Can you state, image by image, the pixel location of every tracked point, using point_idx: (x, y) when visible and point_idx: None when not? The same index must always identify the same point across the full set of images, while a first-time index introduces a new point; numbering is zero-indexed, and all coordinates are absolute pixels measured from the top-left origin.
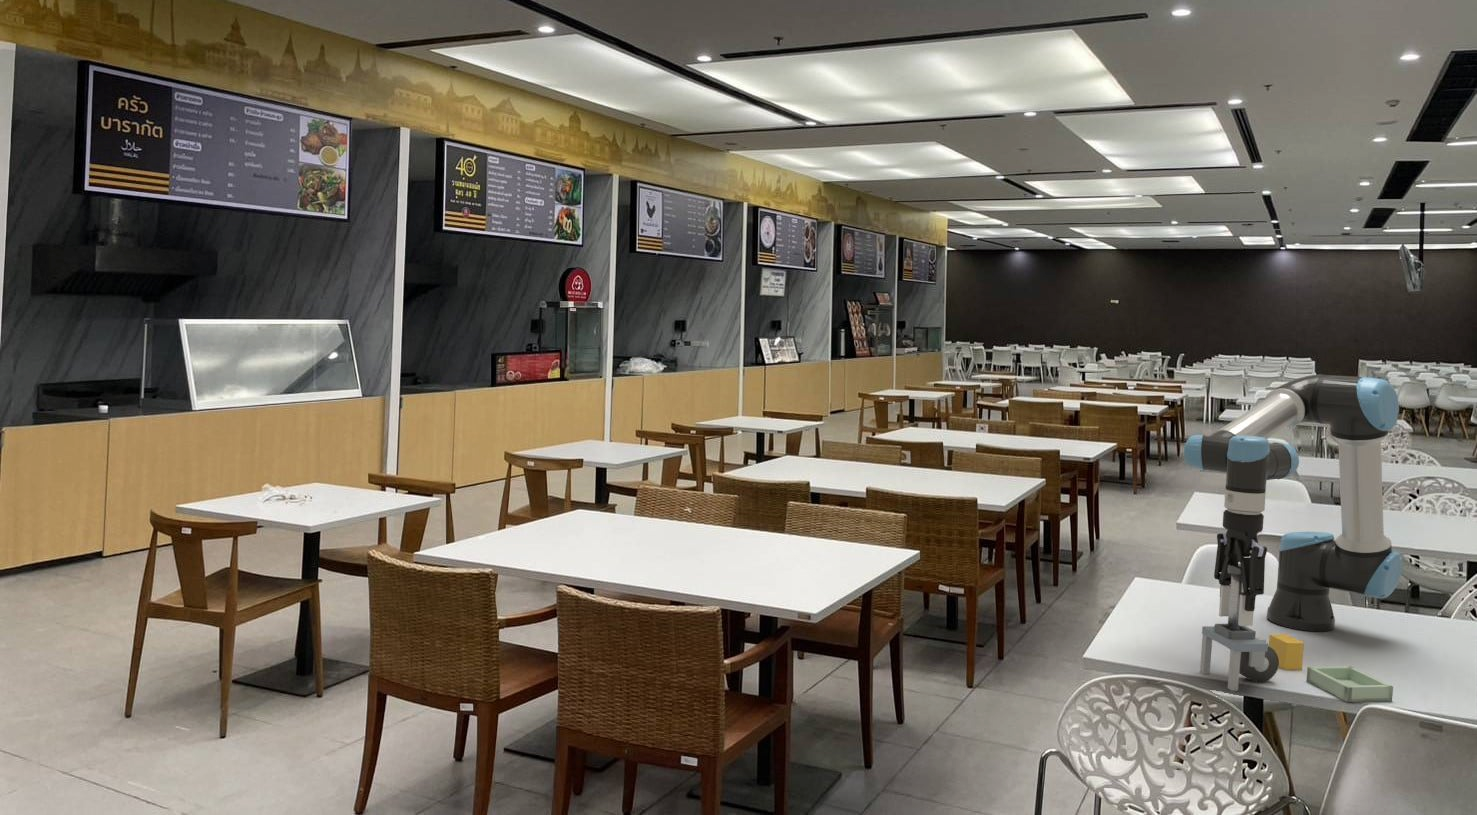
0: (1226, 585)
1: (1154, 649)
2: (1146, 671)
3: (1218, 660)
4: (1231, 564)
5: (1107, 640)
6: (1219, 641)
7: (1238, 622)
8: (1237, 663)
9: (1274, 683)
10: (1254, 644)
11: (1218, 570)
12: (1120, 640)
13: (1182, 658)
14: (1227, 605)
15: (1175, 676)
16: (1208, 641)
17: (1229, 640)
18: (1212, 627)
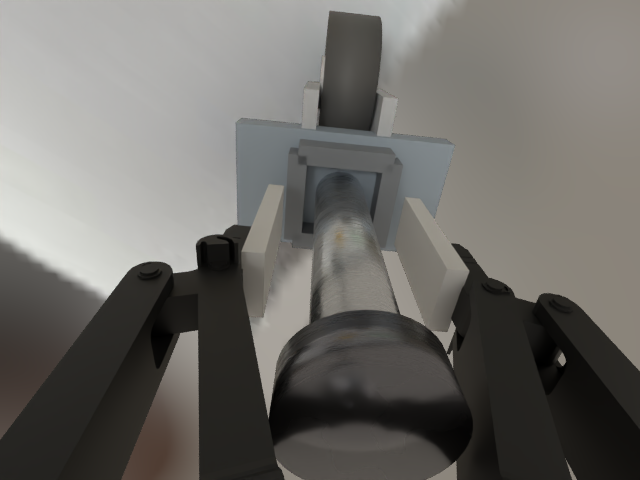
0: (246, 291)
1: (91, 186)
2: None
3: (169, 62)
4: (296, 455)
5: (38, 255)
6: None
7: (397, 249)
8: None
9: None
10: (440, 194)
11: (163, 371)
12: (29, 227)
13: (159, 159)
14: (277, 233)
15: (284, 252)
16: None
17: (387, 248)
18: (249, 211)
